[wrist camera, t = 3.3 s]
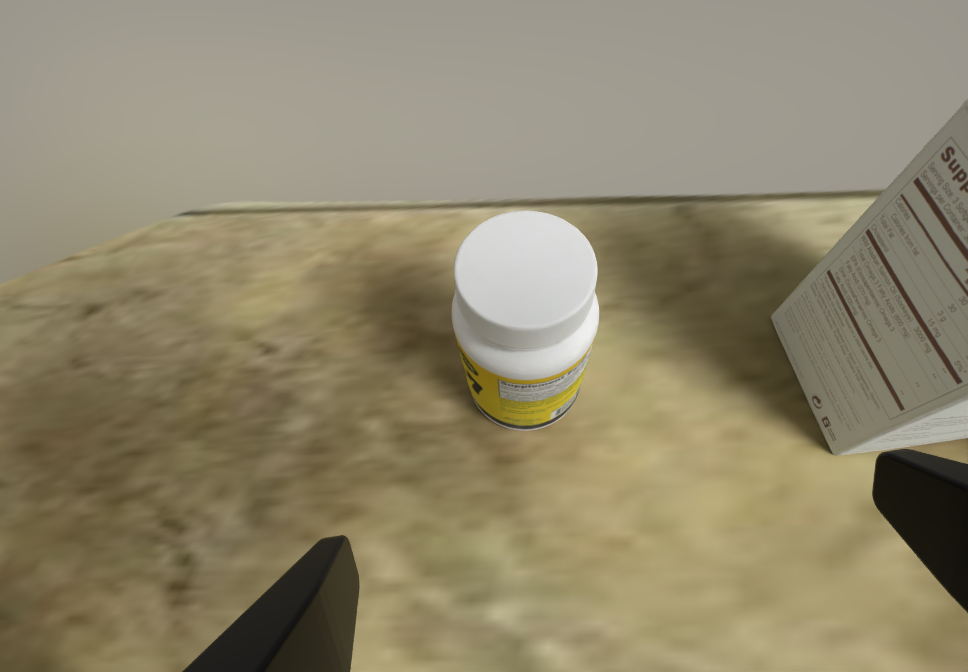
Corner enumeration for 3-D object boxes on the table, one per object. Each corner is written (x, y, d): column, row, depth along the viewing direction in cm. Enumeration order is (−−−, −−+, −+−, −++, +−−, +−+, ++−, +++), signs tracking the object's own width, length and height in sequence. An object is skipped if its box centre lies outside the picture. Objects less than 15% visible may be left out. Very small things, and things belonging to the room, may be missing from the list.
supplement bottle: (465, 335, 25) (437, 205, 17) (569, 325, 25) (595, 188, 17) (472, 439, 23) (442, 349, 14) (588, 429, 23) (630, 331, 14)
